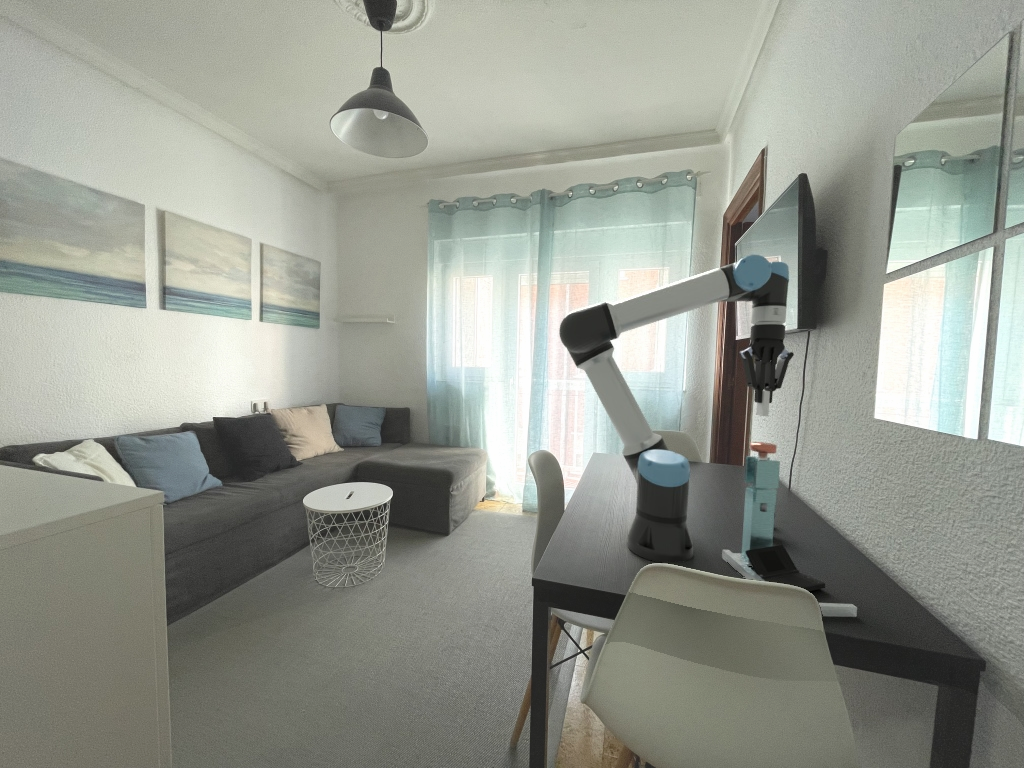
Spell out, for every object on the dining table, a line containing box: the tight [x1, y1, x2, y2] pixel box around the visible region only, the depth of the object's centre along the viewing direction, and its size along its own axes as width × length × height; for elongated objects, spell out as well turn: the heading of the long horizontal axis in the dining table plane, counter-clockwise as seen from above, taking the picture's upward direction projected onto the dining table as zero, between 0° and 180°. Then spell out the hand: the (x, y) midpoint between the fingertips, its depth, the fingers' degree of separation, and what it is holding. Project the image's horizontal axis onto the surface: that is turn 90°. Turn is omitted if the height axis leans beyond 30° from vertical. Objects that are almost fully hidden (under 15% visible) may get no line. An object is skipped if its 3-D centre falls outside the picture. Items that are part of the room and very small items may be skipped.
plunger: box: [749, 441, 777, 460], centre depth 91 cm, size 5×5×8 cm
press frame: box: [721, 455, 858, 618], centre depth 83 cm, size 13×22×24 cm, turn 179°
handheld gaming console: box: [745, 544, 826, 592], centre depth 83 cm, size 11×10×4 cm
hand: (762, 415), depth 104 cm, fingers closed
